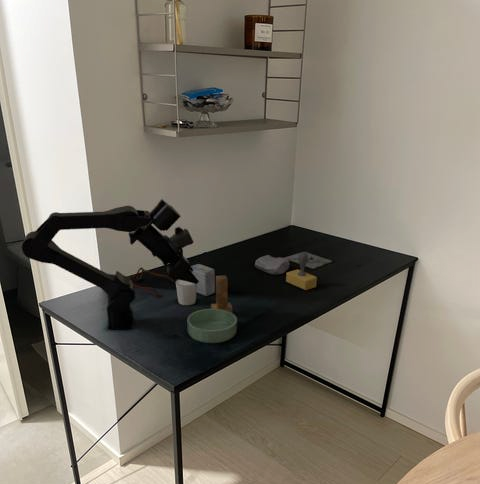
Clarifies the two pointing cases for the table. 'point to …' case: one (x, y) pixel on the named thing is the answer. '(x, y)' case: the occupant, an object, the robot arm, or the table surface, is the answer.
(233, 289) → the table surface
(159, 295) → the glasses
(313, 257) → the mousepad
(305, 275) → the rubber stamp
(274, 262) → the stone block
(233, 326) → the bowl
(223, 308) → the brown stepped block
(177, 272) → the robot arm
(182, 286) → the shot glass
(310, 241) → the table surface
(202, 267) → the medicine box
